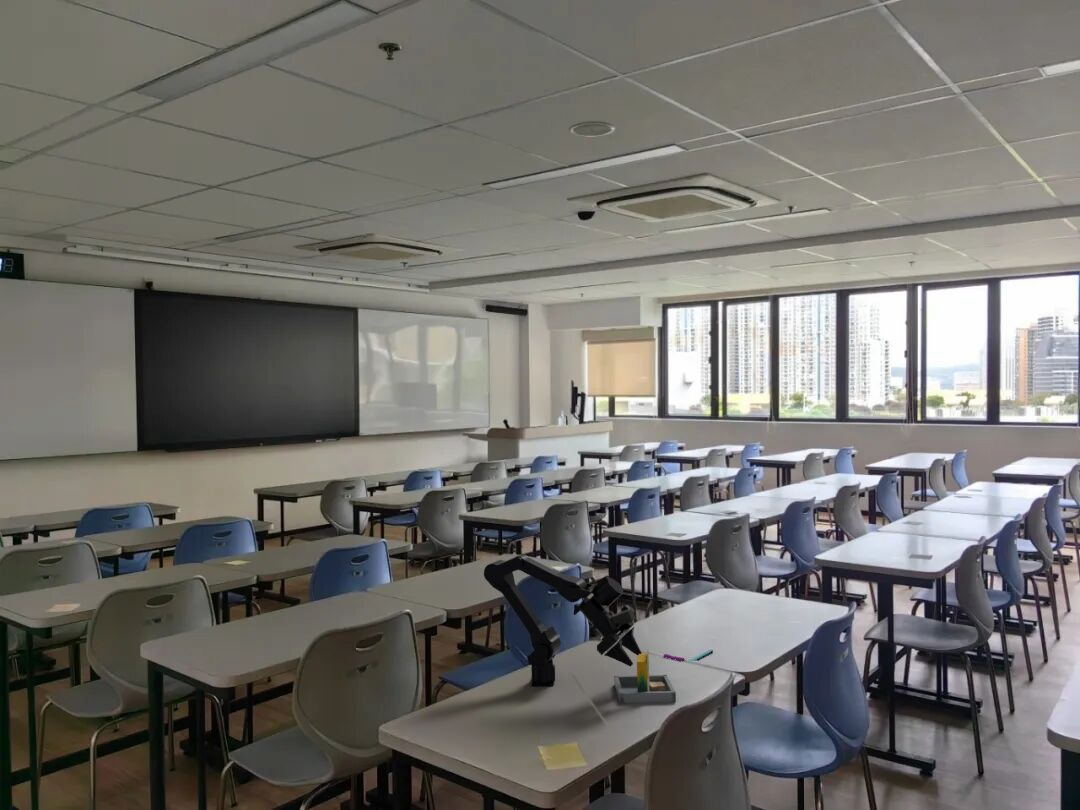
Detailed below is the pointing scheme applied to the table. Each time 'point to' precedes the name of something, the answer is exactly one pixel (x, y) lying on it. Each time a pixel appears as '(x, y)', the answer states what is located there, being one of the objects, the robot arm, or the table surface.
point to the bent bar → (688, 660)
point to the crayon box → (643, 672)
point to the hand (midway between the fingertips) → (636, 660)
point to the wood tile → (657, 686)
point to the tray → (630, 694)
